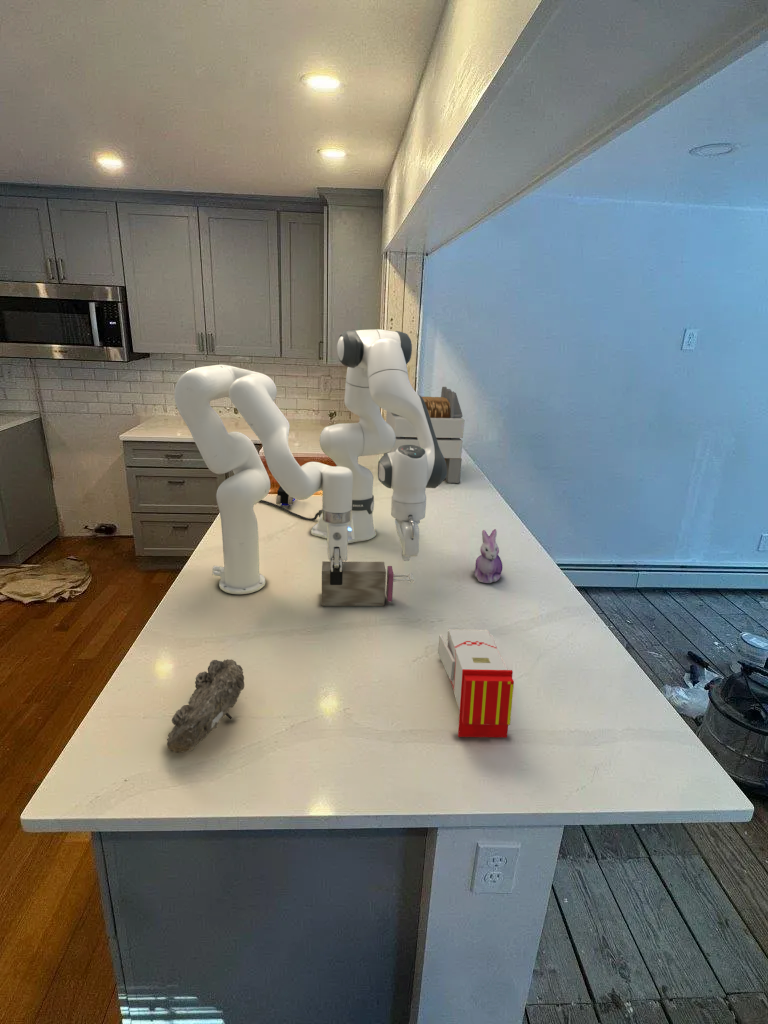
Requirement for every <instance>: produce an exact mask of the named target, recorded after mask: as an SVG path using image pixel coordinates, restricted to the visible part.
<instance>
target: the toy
mask: <svg viewBox="0 0 768 1024" xmlns="http://www.w3.org/2000/svg"><path fill="white" fill-rule="evenodd" d="M446 640H447V643H446V641H445V639H444V636H443V635H442V634H439V637H438V646H437V656H438V657H439V659H440V661H441V663H442V666H443V668H444V670H445V672H446V674H447V677H448V679H449V681H450V684H451V687H452V690H453V693H454V697H455V701H456V705H457V708H458V711H459V714H458V715H459V716H458V730H457V731H458V732H457V737H458V738H508V731H509V726H510V725H511V717H512V707H513V697H514V696H513V695H514V684H515V680H514V679H513V673H514V671H513V670H512V669H508V667H507V665H506V662H505V661H504V659H503V658H502V655H501V653H500V651H499V649H498V647H497V643H496V639H495V637H494V635H493V634H491V632H490V631H489V629H467V628H466V629H465V628H463V629H461V628H460V629H459V628H448V630H447V639H446Z"/></svg>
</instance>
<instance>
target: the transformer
mask: <svg viewBox="0 0 768 1024" xmlns="http://www.w3.org/2000/svg"><path fill="white" fill-rule="evenodd" d="M440 393H441V394H440V396H421V397H422V398H423V400H424V402H425V404H426V407H427V410H428V413H429V416H430V419H431V422H432V426H433V429H434V432H435V435H436V439H437V442H438V445H439V448H440V450H441V452H442V455H443V457H444V459H445V462H446V466H447V475H446V478H445V479H444V480H445V481H446V482H447V483H449V484H455V483H456V484H459V483H461V472H462V461H463V460H462V453H463V442H464V441H463V440H462V439H463V438H464V431H465V430H464V429H465V419H464V418H463V411H462V408H461V405H460V402H459V398H458V395H457V392H455V391H453V390H452V389H451V388H447V386H442V387H441V392H440ZM385 414H386V415H385V421H386V422H387V423H388V424H389V425H390V426H391V427H392V428H393V430H394V432H395V437H396V440H395V445H394V447H393V449H392V450H391V451H390V452H387V453H391V452H396V449H397V448H398V447H400V446H402V445H415V446H419V447H420V445H419V441H418V438H417V435H416V431H415V428H414V426H413V425H412V423H411V422H410V421H408V420H407V419H405V418H404V417H402V416H399V415H397V414H394V413H391V412H388V411H386V413H385ZM385 454H386V453H384V454H383V455H385Z"/></svg>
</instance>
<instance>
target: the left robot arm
mask: <svg viewBox="0 0 768 1024" xmlns="http://www.w3.org/2000/svg"><path fill="white" fill-rule="evenodd" d="M277 395H278V388H277V385H276V384H275V382H274V380H273V379H272V378H271V377H270V376H268V375H267V374H265V373H262V372H258V371H253V370H250V369H244V368H241V367H238V366H237V367H236V366H233V365H229V364H213V365H207V366H206V365H205V366H199V367H194V368H191V369H189V370H187V371H185V372H184V373H182V375H181V376H180V377H179V378H178V380H177V381H176V384H175V388H174V395H173V396H174V403H175V406H176V408H177V411H178V413H179V415H180V416H181V418H182V420H183V421H184V423H185V425H186V427H187V428H188V430H189V433H190V435H191V437H192V439H193V441H194V443H195V445H196V447H197V450H198V451H199V453H200V456H201V458H202V460H203V462H204V464H205V465H206V467H207V469H208V470H209V471H210V472H211V473H213V474H216V475H224V474H227V473H230V472H231V471H232V473H233V475H231V476H229V477H227V478H226V479H224V480H223V481H222V482H221V483H220V485H219V486H218V487H217V490H216V494H215V497H216V498H215V499H216V503H217V504H216V505H217V507H218V511H219V512H218V513H219V516H220V523H221V524H220V525H221V539H222V553H223V554H222V555H223V557H222V558H223V566H221V565H213V567H212V568H211V569H212V570H211V571H212V576H213V577H219V578H220V579H219V581H218V586H219V588H220V590H222V591H223V592H224V593H228V594H232V595H248V594H252V593H255V592H258V591H260V590H261V589H263V588H264V587H265V585H266V577H265V576H264V575H263V574H262V573H260V572H261V571H260V546H259V524H258V519H257V516H256V513H255V510H254V506H255V505H257V503H260V502H259V501H261V500H264V499H265V498H267V496H268V495H269V493H270V491H271V480H270V476H269V474H268V472H267V469H266V468H265V464H264V463H263V461H262V459H261V456H260V455H259V452H258V450H257V447H256V446H255V444H254V442H253V441H252V440H251V439H250V437H248V436H247V435H246V434H244V433H243V432H240V431H229V432H228V430H227V428H226V426H225V424H224V422H223V419H222V418H221V416H220V415H219V413H218V412H217V410H215V409H214V408H213V407H212V406H211V404H210V403H211V402H212V401H215V400H219V399H223V398H228V399H230V402H231V403H232V404H233V406H234V407H235V408H236V410H237V411H238V412H239V414H240V416H241V417H242V418H243V419H244V421H245V422H246V423H247V425H248V426H249V427H250V429H251V430H252V431H253V433H254V435H255V436H256V437H257V438H258V440H259V441H260V443H261V445H262V451H263V456H264V458H265V461H266V462H265V463H266V464H267V468H268V470H269V472H270V473H271V475H272V477H273V478H274V480H275V481H276V482H277V484H278V485H279V487H280V486H281V487H282V488H283V490H284V491H285V492H286V493H287V494H288V495H289V496H291V497H292V498H294V499H295V500H296V501H297V500H298V501H304V500H307V499H309V498H311V497H312V496H313V495H315V494H316V493H317V492H321V491H322V495H321V496H322V502H321V503H322V506H321V507H322V509H321V510H322V521H323V522H324V523H325V524H327V538H326V543H327V545H326V546H327V555H328V561H331V570H330V585H342V577H343V570H342V562H348V553H349V552H348V551H349V543H348V524H349V523H351V521H352V488H353V474H352V471H351V470H350V469H349V468H346V467H341V466H337V465H333V466H332V465H329V464H325V463H322V462H319V461H308V462H306V463H304V464H302V465H300V463H298V461H297V459H296V458H295V457H294V455H293V453H292V451H291V448H290V444H289V436H290V429H291V428H290V427H291V426H290V425H291V424H290V422H289V420H288V419H287V417H286V416H285V415H284V413H283V412H282V411H281V410H280V408H279V406H278V405H277V404H276V403H275V400H276V398H277ZM333 562H334V565H333ZM339 562H340V565H339Z"/></svg>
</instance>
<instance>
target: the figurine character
mask: <svg viewBox="0 0 768 1024" xmlns="http://www.w3.org/2000/svg"><path fill="white" fill-rule="evenodd" d="M275 499H276V500H275V504H276V505H280V506H281V507H283V506H285V507H287V509H290V508H291V506H292V505H293V503H294V502H295V501H296V499H294V498H292V497H291V496H289V495H288V494H287V493H286V492H285V491H284V490H283V488H282V487H281V486H280V485H279V487H278V489H277V494H276V498H275ZM283 508H284V507H283Z"/></svg>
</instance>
